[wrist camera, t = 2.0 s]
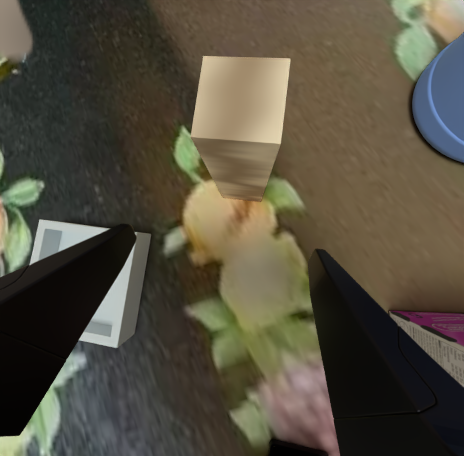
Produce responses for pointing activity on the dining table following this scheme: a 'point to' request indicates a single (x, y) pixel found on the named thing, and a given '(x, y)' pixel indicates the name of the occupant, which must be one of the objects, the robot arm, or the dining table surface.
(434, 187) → the dining table surface
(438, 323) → the candy bar box
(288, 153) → the dining table surface
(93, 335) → the tray
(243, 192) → the birch block
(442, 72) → the water jug
